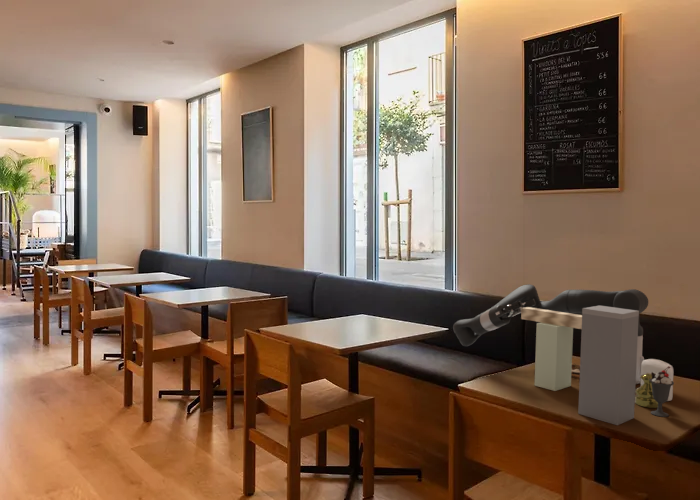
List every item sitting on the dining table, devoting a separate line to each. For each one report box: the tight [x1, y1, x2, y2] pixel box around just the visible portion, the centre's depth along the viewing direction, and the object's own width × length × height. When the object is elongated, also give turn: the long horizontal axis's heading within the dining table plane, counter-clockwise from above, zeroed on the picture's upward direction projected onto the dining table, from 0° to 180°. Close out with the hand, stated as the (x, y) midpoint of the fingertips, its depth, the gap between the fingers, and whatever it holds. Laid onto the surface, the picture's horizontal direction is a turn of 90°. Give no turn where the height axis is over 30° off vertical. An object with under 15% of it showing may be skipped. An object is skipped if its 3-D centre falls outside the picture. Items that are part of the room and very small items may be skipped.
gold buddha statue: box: [635, 373, 658, 409], centre depth 185 cm, size 7×7×10 cm
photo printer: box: [640, 358, 674, 402], centre depth 193 cm, size 10×4×12 cm, turn 26°
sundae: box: [649, 366, 675, 418], centre depth 176 cm, size 7×7×15 cm
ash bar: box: [520, 307, 582, 330], centre depth 203 cm, size 24×4×4 cm, turn 39°
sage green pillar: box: [534, 322, 574, 392], centre depth 204 cm, size 8×10×22 cm
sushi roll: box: [571, 362, 580, 379], centre depth 221 cm, size 15×15×4 cm
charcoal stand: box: [577, 305, 640, 426], centre depth 173 cm, size 12×10×32 cm
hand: (528, 302), depth 211 cm, fingers open, 8 cm apart
